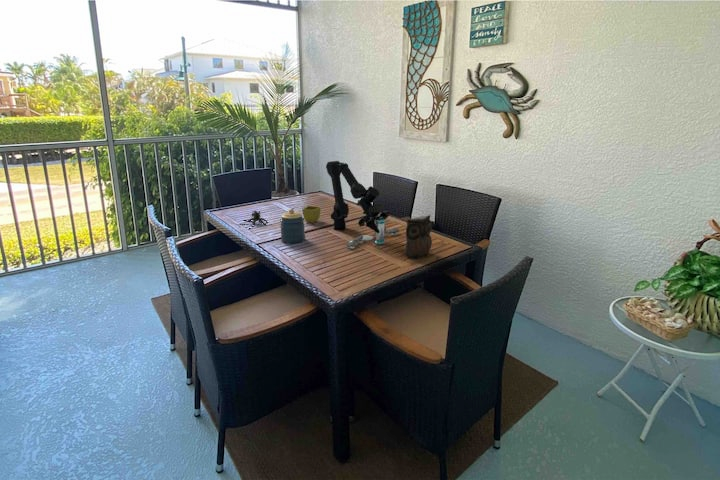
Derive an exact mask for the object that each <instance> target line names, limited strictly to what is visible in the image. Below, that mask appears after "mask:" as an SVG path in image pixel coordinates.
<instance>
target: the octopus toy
mask: <svg viewBox="0 0 720 480" xmlns="http://www.w3.org/2000/svg"><path fill="white" fill-rule="evenodd" d="M247 220H248V221H246V222H249V223H251V222H250V221H251V220H253V221H252V224H251V226H252V225H254V224H255V225H256V222H260V223H261V224H262V223H263V224H266V222H265V221H267V219H265V218H263V217H262V216H261V210H259V211H257V210H253V211H252V213H251V218H249V219H247ZM263 224H262V225H263ZM255 225H254V226H255Z"/></svg>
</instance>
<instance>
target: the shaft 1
mask: <svg viewBox="0 0 720 480" xmlns="http://www.w3.org/2000/svg"><path fill="white" fill-rule="evenodd" d="M362 239H363V235H359V236H357V237H355V238H354V239H353V240H351V241H349V242H347V243H346V249H355V248H356V246H355V244H363V243H364V240H362Z"/></svg>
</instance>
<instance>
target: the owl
mask: <svg viewBox="0 0 720 480" xmlns="http://www.w3.org/2000/svg"><path fill="white" fill-rule="evenodd" d="M432 226H433V225H432V221H431V215H424V216H416V217H411V218H408V219H407V220H406V228H405V236H406V237H405V238H406V239H405V240H406V243H405V255H406V258H407V259H410V260H417V259H423V258H427V257H428V255H429V254H430V251H431V248H432V244H433V241H432V237H431V235H430V234H431V232H432V229H433V227H432Z"/></svg>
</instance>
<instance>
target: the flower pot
mask: <svg viewBox="0 0 720 480" xmlns="http://www.w3.org/2000/svg"><path fill="white" fill-rule="evenodd" d="M301 211H302V217H303V218H304V221H305V222H306V223H311V224H314V223H316V222H318V221H319V218H320V216H321V206H314V205H307V206H306V207H304V208H302V209H301Z"/></svg>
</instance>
